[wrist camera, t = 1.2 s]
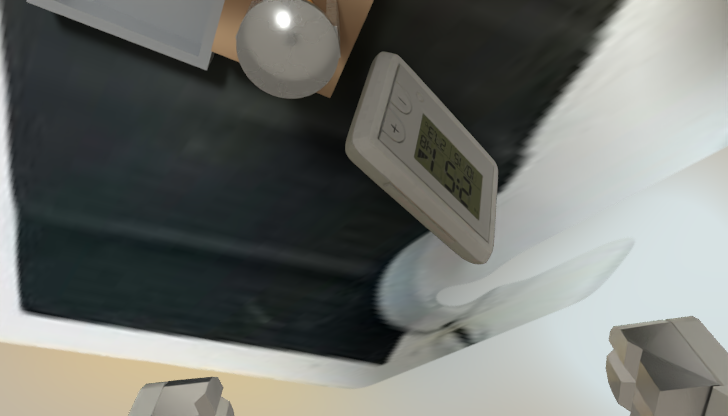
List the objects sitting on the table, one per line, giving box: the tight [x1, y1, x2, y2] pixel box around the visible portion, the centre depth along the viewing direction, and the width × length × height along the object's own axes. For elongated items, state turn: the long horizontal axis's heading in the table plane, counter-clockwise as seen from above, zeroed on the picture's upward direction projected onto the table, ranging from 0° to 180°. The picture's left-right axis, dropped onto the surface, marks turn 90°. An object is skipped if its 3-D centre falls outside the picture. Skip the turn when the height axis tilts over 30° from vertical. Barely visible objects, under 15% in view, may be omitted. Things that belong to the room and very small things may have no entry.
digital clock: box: [345, 51, 498, 264], centre depth 39 cm, size 16×9×11 cm, turn 31°
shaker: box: [235, 0, 341, 99], centre depth 30 cm, size 6×6×8 cm
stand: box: [211, 0, 374, 98], centre depth 34 cm, size 10×9×4 cm
